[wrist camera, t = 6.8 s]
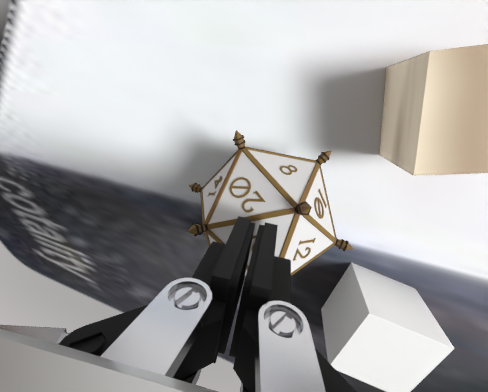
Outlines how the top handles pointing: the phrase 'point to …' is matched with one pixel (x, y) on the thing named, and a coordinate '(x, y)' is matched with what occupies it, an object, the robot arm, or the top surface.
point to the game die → (270, 202)
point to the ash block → (437, 112)
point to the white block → (381, 331)
